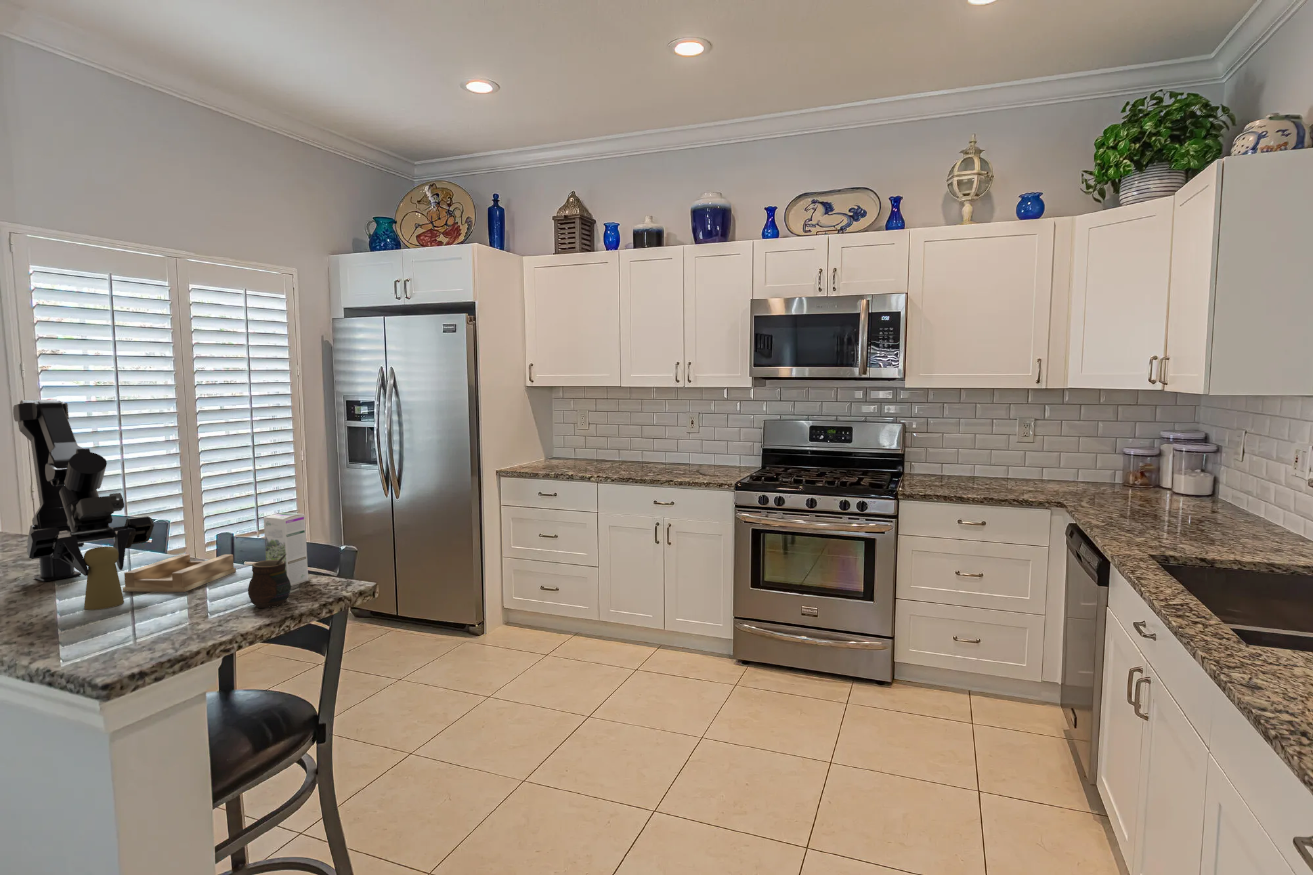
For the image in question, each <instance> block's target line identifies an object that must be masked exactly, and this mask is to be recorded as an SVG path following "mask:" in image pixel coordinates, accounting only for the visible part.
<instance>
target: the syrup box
mask: <svg viewBox="0 0 1313 875" xmlns="http://www.w3.org/2000/svg"><path fill="white" fill-rule="evenodd" d="M306 528H307V527H306V514H304V513H296V512H278V513H277V512H276V513H273V514H269V515H267V516H263V531H264V532H263V534H264V547H265V550H264V551H265V560H279V559H281V558H282V557H283V555H285V554H286V556H285V557H284V558H283V560H282V561H285V572H286V574H287V577H288V579H289V580H290V584H291V587H293V586H296V585H299V584H302V583H305V582H308V581H309V571H308V569H309V568H308V552H307V551H308V550H307V549H308V548H307V532H306V531H307V530H306Z"/></svg>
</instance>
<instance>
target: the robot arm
mask: <svg viewBox="0 0 1313 875" xmlns="http://www.w3.org/2000/svg"><path fill="white" fill-rule="evenodd" d="M12 408H13V409H12V413H13V414H12V415H13V419H14V422H16V423H18V429H19V432H20V433H21V434H22V435H23V436H24V437H26V438H27V440H29V441H30V445H31V452H32V459H33V467H34V474H35V481H36V488H37V494H38V502H39V507H38V509H37V511H36V512H35V514H34V515H33V517H32V519H31V522H32V524H31V525H30V527H29V532H28V536H27V541H26V544H27V545H26V551H27V555H28V558H29V559H31V560H36V559H38V561H39V574H36V575H34V576H33V578H34V579H36V580H38V581H41V582H50V581H55V580H62V579H68V578H72V577H77V576H78V577H79V576H81V575H83V576H84V577H87V576H88V573H89V572H88V566H87V565H86V562H85V560H84V555H83V553H82V551H81V549H80V548H82V547H83V546H85V543H91V542H99V541H105V540H113V546H112V547H114V548H116V549H117V550H118V553H119V557H118V560H117V562H116V563H115V564H116V567H117V568H118V569H119V571H122V570H123V569H124V564H125V556H126V549H129V548H131V547H132V546H133V545H137V544H138V545H139V544H143V543H147V542H149V541H150V538H151V535H152V533H153V529H154V526H155V524H154V520H153V519H152V517H150V516H149V515H144V516H143V515H141V516H135V517H128V518H126V519H125V523H124V526H123V525H121V526H117V527H114V526H110V524H112V523H113V520H114V519H113V516H112V515H113V514H114V513H115V512H120V511H122V510H123V509H124V507H125V502H124V501H125V500H124V497H123V495H122V493H121V492H115V493H110V494H108V495H105V496H99V495H100V494H99V492H98V489H99V490H100V488H101V486H102V484H103V480H104V476H105V472H106V468H107V466H108V465H107V460H106V458H104V457H103V456H102V455H100V454H98V453H96V452H93V451H91V450H90V448H83V446H82V447H81V446H80V445H78V443H77V440H76V438H75V435H74V432H73V430H72V428H71V427H72V426H71V425H70V422H69V421H70V420H69V417H70V416H69V415H70V414H69V404H68V402H65V401H61V400H58V399H21V400H20V401H19V403H18V404H15V405H13V407H12Z"/></svg>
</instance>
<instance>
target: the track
mask: <svg viewBox="0 0 1313 875" xmlns="http://www.w3.org/2000/svg"><path fill="white" fill-rule="evenodd" d="M235 572H237V568H236V567H234V554H221V555H220V556H216V557H214V558H211V559H207V560H191V554H187V553H185V554H184V553H182V554H178V555H175V556H171V557H169V558H165V559H163V560H159V561H156V562H154V563H153V562H152V563H151V564H150V563H149V564H147V565H144V566H141V567H138V568H134V569H131V570H128V571H126V572H124V575H123V576H124V586H123V587H122V592H153V593H155V592H156V593H157V592H158V593H159V592H161V593H163V592H165V593H166V592H168V593H169V592H170V593H171V592H172V593H183V592H184V593H185V592H188V591H190V590H192V589H196V588H198V587H201V586H203V585H205V584H208V583H210V582H214V581H216V580H218V579H220V578H224V577H225V576H227V575H231V574H233V573H235Z"/></svg>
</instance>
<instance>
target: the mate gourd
mask: <svg viewBox="0 0 1313 875" xmlns="http://www.w3.org/2000/svg"><path fill="white" fill-rule="evenodd" d="M285 556H286V554H285V555H283V557H282V558H281V559H279V560H266V559H265V560H260V561H257V562H254V563H253V564H251V572H252V576H251V579H250V581H249V584H248V586H247V587H248V588H247V594H248V597H249V600H250V602H251V604H253V605H254V606H255V607H257V608H262V609H268V608H274V607H279V606H281V605H283V604H284V603H285V602H286V601H287V600H288V599H289V597H290V593H291V591H292V586H291V584H290V580H289V579H288V577H287V574H286V572H285V561H282V560H283V558H284V557H285Z"/></svg>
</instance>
